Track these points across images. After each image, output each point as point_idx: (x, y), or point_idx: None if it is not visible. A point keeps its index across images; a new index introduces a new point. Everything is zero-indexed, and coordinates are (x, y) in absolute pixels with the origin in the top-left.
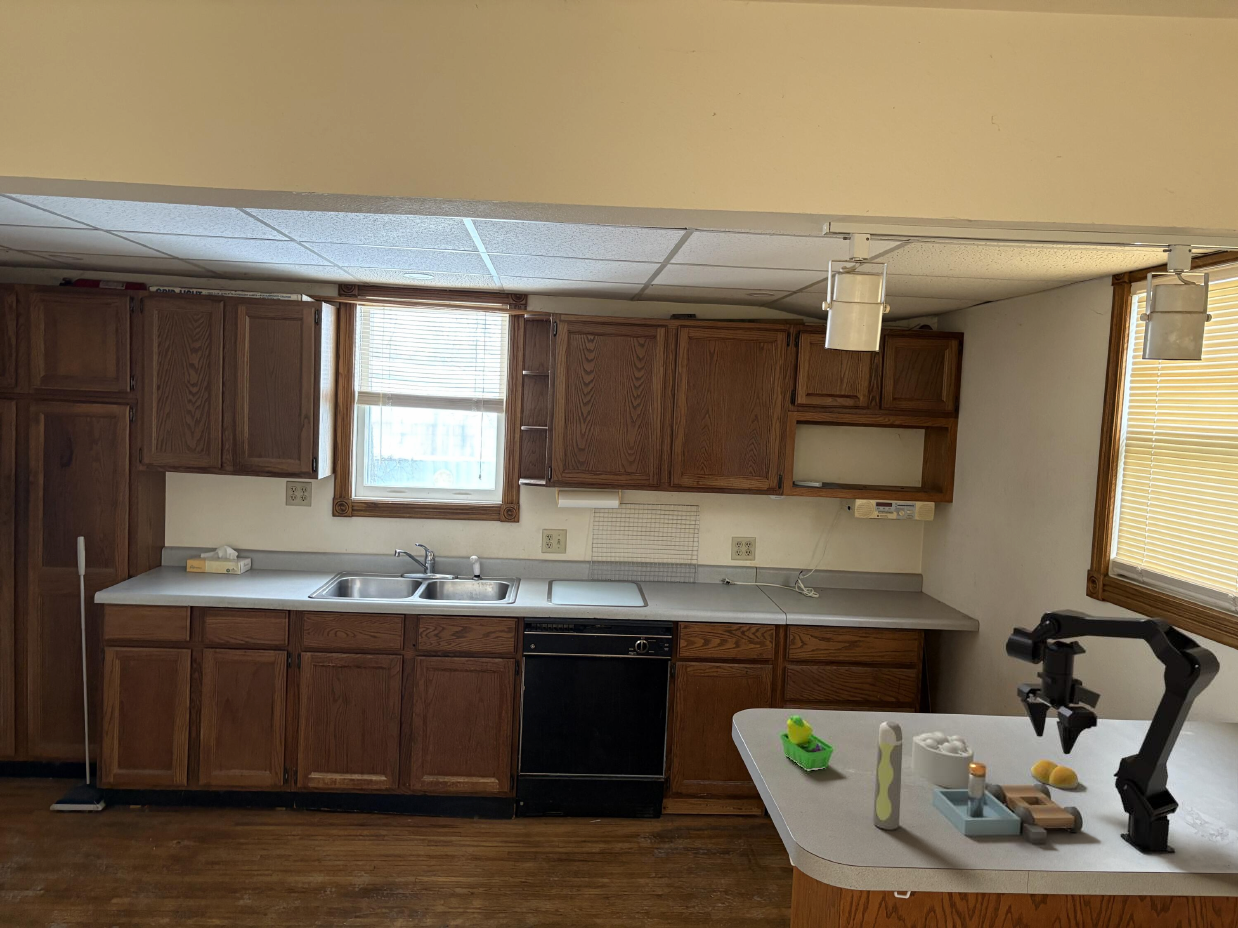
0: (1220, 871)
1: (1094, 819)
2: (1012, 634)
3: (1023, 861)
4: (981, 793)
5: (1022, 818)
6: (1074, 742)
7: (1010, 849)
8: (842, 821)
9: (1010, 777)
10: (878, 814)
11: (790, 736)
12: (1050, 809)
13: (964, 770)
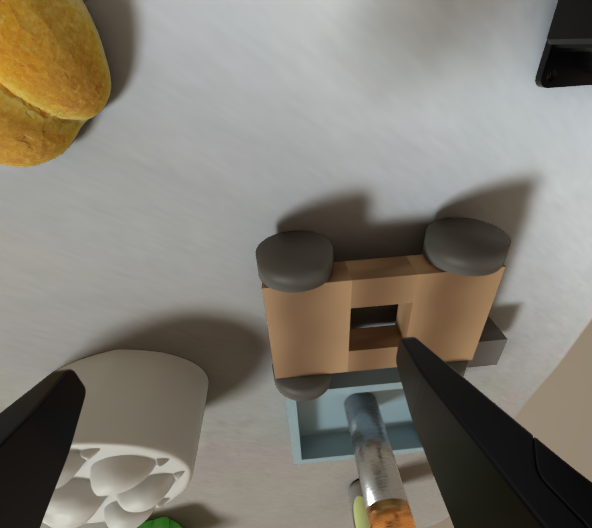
0: None
1: (398, 102)
2: None
3: (527, 373)
4: (393, 455)
5: None
6: (501, 414)
7: (483, 377)
8: (351, 512)
9: (66, 238)
10: None
11: None
12: (439, 307)
13: (198, 423)
